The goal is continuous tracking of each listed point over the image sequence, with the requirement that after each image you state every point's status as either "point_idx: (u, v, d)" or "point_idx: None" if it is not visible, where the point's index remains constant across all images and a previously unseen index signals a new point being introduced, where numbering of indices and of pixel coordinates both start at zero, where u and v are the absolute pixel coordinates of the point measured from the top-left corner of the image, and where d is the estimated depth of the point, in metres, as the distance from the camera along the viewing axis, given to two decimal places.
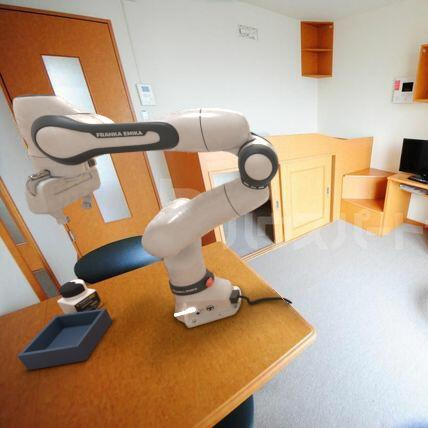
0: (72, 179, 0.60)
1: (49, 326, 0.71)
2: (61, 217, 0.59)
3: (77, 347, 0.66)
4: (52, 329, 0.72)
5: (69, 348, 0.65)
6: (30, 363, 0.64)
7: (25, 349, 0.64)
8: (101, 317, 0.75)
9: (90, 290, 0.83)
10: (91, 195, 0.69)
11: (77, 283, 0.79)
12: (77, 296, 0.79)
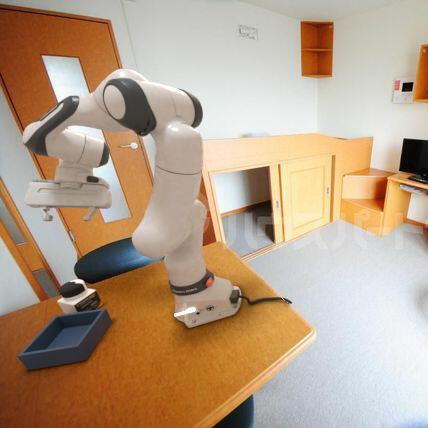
0: (61, 186, 0.76)
1: (49, 326, 0.71)
2: None
3: (77, 347, 0.66)
4: (52, 329, 0.72)
5: (69, 348, 0.65)
6: (30, 363, 0.64)
7: (25, 349, 0.64)
8: (101, 317, 0.75)
9: (90, 290, 0.83)
10: (91, 209, 0.79)
11: (77, 283, 0.79)
12: (77, 296, 0.79)
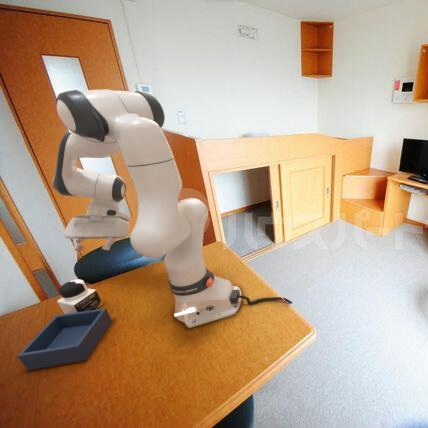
0: (89, 220, 0.88)
1: (49, 326, 0.71)
2: None
3: (77, 347, 0.66)
4: (52, 329, 0.72)
5: (69, 348, 0.65)
6: (30, 363, 0.64)
7: (25, 349, 0.64)
8: (101, 317, 0.75)
9: (90, 290, 0.83)
10: (109, 239, 0.87)
11: (77, 283, 0.79)
12: (77, 296, 0.79)
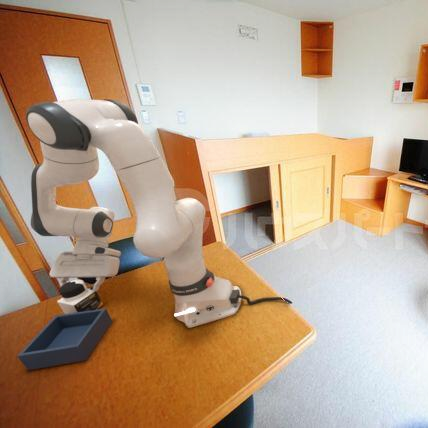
0: (76, 258, 0.83)
1: (49, 326, 0.71)
2: None
3: (77, 347, 0.66)
4: (52, 329, 0.72)
5: (69, 348, 0.65)
6: (30, 363, 0.64)
7: (25, 349, 0.64)
8: (101, 317, 0.75)
9: None
10: (98, 279, 0.82)
11: (77, 284, 0.79)
12: (77, 296, 0.79)
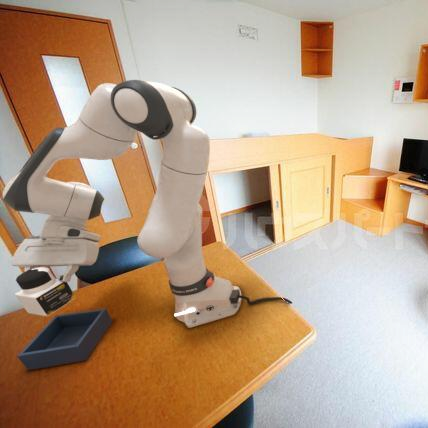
0: (44, 242, 0.68)
1: (49, 326, 0.71)
2: None
3: (77, 347, 0.66)
4: (52, 329, 0.72)
5: (69, 348, 0.65)
6: (30, 363, 0.64)
7: (25, 349, 0.64)
8: (101, 317, 0.75)
9: (58, 280, 0.67)
10: (69, 268, 0.67)
11: (40, 271, 0.63)
12: (40, 287, 0.63)
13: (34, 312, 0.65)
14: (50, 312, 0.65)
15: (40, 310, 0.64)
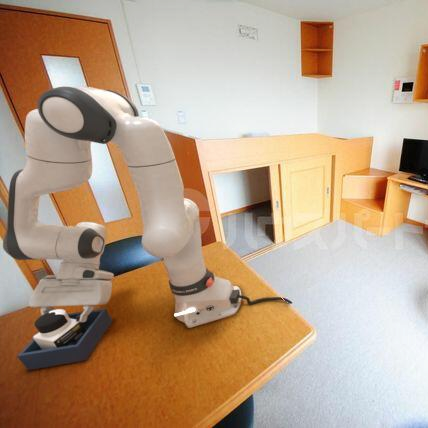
0: (61, 284, 0.70)
1: None
2: None
3: (77, 347, 0.66)
4: None
5: (69, 348, 0.65)
6: (30, 363, 0.64)
7: (25, 349, 0.64)
8: (101, 317, 0.75)
9: (74, 321, 0.70)
10: (85, 308, 0.70)
11: (57, 315, 0.66)
12: (58, 330, 0.66)
13: None
14: None
15: None
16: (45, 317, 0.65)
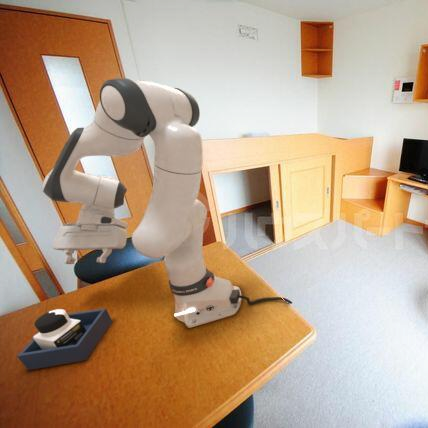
0: (81, 228, 0.77)
1: None
2: None
3: (77, 347, 0.66)
4: None
5: (69, 348, 0.65)
6: (30, 363, 0.64)
7: (25, 349, 0.64)
8: (101, 317, 0.75)
9: (74, 321, 0.70)
10: (104, 251, 0.77)
11: (57, 315, 0.66)
12: (58, 330, 0.66)
13: None
14: None
15: None
16: (45, 317, 0.65)
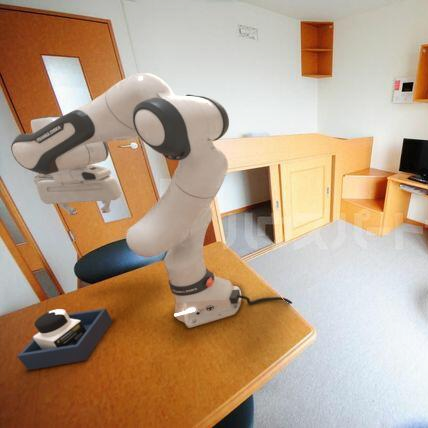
0: (64, 185, 0.72)
1: None
2: None
3: (77, 347, 0.66)
4: None
5: (69, 348, 0.65)
6: (30, 363, 0.64)
7: (25, 349, 0.64)
8: (101, 317, 0.75)
9: (74, 321, 0.70)
10: (105, 203, 0.78)
11: (57, 315, 0.66)
12: (58, 330, 0.66)
13: None
14: None
15: None
16: (45, 317, 0.65)
